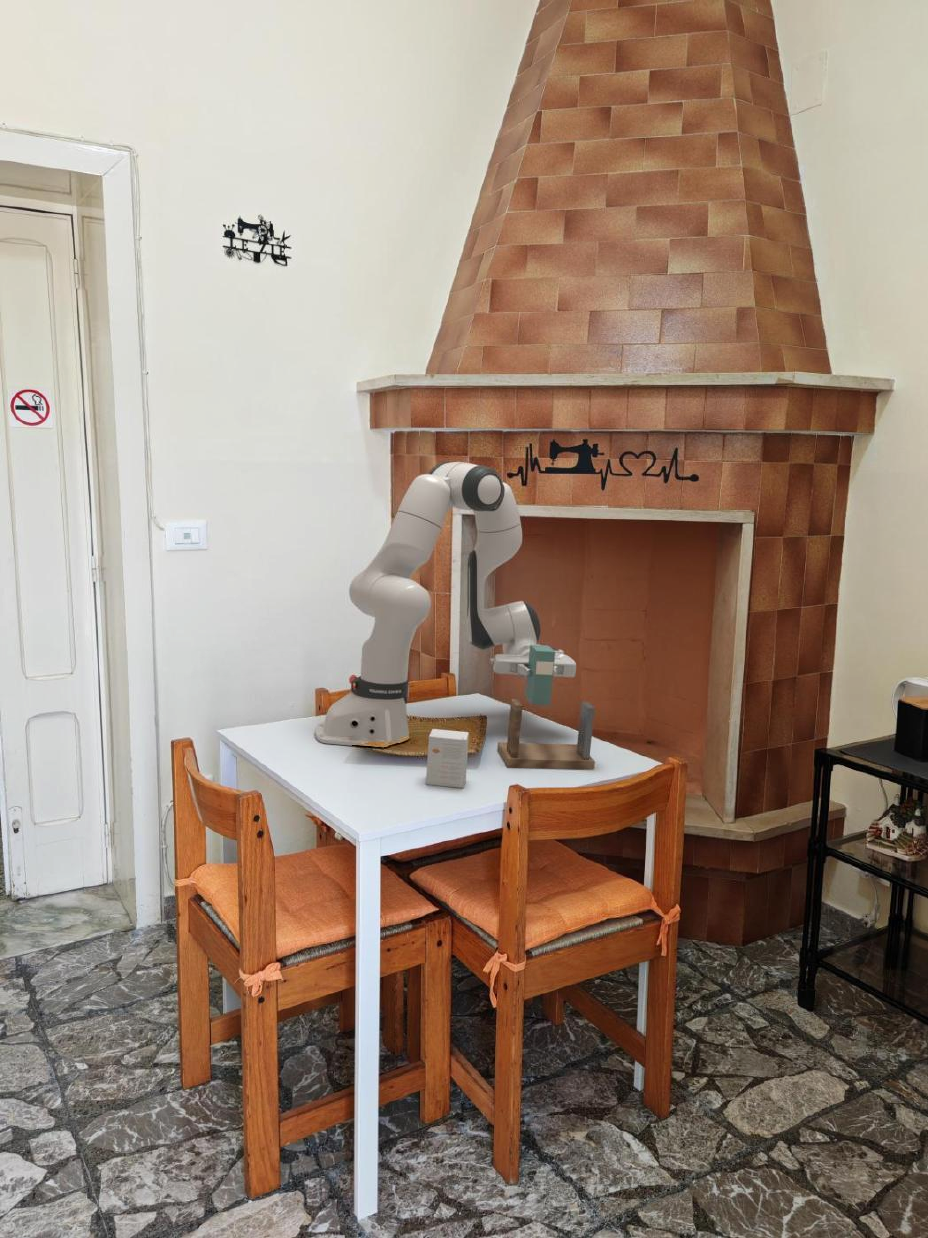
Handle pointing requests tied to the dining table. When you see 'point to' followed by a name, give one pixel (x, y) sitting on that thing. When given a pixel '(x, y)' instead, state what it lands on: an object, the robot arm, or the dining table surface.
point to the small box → (447, 758)
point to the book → (540, 675)
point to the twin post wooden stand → (537, 749)
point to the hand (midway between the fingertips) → (541, 673)
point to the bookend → (585, 730)
